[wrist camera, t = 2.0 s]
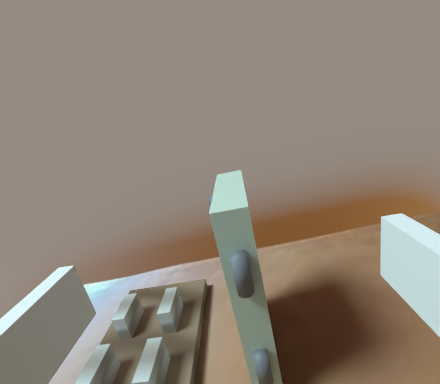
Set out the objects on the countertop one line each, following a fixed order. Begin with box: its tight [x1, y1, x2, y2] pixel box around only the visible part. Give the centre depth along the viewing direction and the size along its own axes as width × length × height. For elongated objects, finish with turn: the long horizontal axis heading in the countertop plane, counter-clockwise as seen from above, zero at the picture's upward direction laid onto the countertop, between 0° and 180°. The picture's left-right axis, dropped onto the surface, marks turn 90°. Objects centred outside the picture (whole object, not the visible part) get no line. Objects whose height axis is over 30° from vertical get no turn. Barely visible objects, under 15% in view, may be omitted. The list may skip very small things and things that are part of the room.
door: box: [209, 170, 282, 384], centre depth 21 cm, size 11×4×18 cm, turn 178°
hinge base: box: [75, 279, 208, 384], centre depth 25 cm, size 20×12×4 cm, turn 178°
